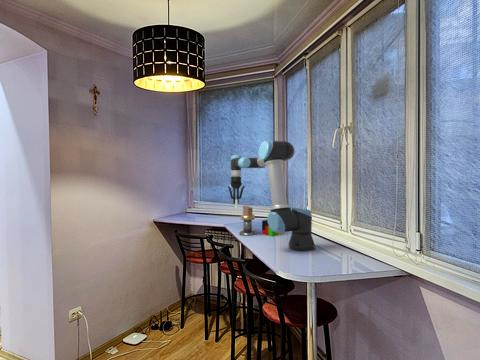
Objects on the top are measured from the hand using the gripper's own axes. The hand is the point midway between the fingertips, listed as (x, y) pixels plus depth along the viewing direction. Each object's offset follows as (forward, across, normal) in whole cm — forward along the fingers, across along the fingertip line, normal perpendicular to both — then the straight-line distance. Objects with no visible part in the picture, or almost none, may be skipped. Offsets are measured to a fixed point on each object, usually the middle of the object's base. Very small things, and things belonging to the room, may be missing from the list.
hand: (236, 208), depth 230 cm
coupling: (+7, -7, +7) cm, 12 cm away
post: (+18, -7, +7) cm, 21 cm away
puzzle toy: (+19, -24, +11) cm, 32 cm away
